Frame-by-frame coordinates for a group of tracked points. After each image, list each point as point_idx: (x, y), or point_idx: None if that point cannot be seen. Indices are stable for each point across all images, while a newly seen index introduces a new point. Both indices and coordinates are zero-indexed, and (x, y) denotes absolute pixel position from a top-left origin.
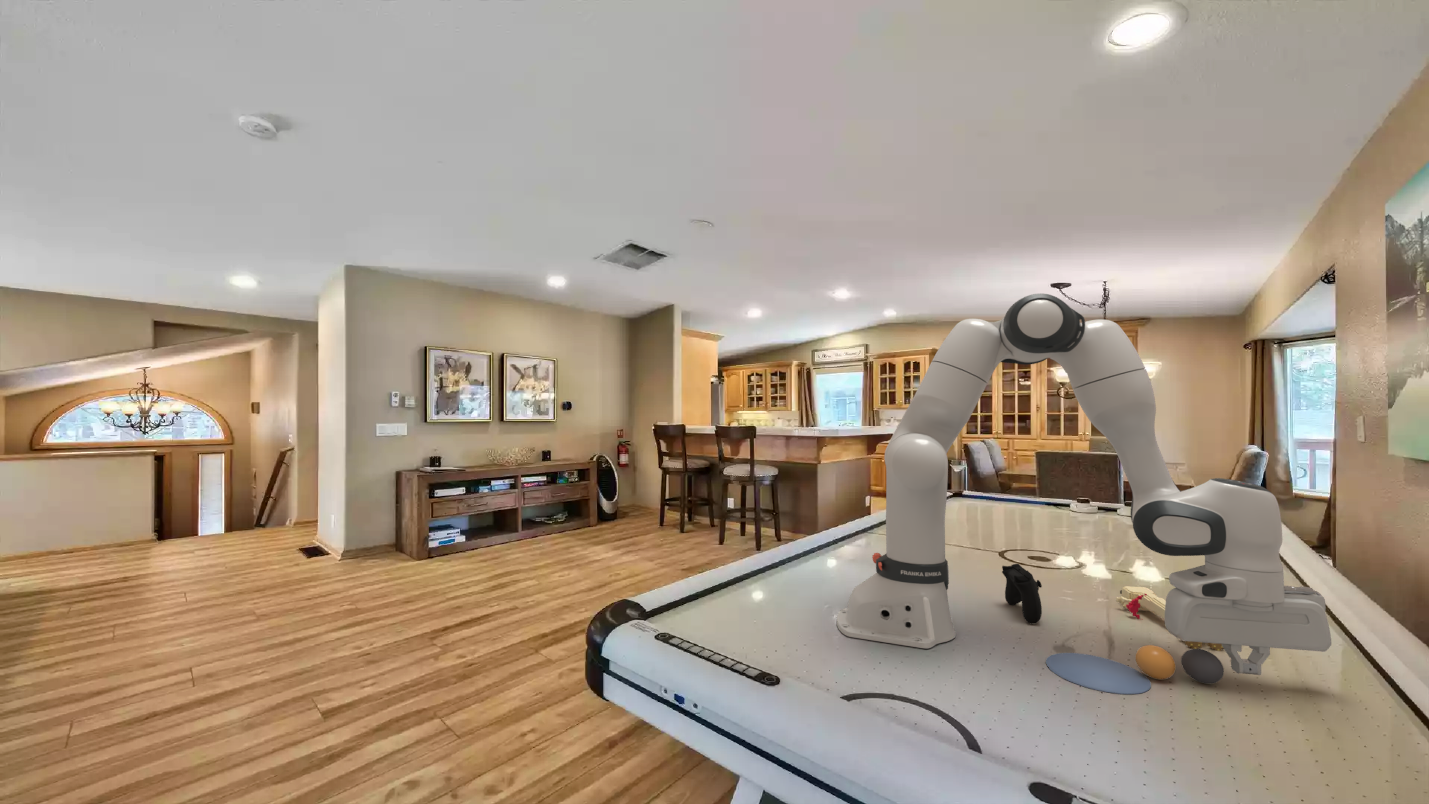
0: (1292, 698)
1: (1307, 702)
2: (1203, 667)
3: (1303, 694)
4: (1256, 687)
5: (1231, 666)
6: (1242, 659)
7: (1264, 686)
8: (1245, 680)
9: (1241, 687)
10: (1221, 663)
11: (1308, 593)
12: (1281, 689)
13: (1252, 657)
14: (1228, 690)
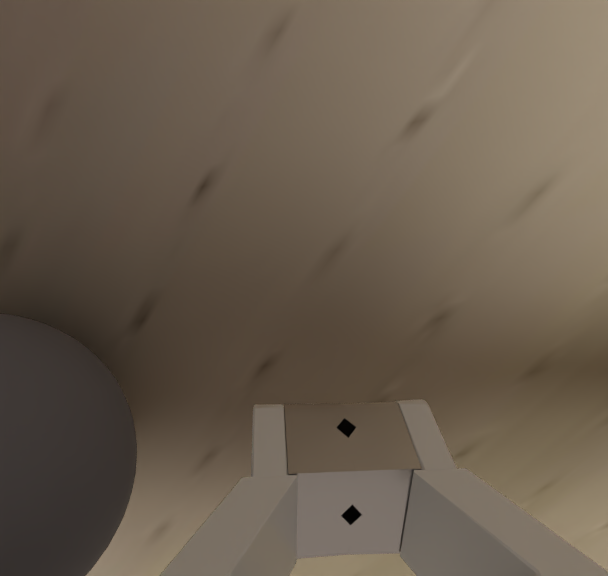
0: (474, 463)
1: (514, 488)
2: None
3: (597, 404)
4: (375, 372)
5: (254, 414)
6: (348, 489)
7: (446, 346)
8: (387, 276)
9: (270, 393)
10: (90, 568)
11: None
12: (523, 366)
13: (436, 532)
14: (153, 449)
